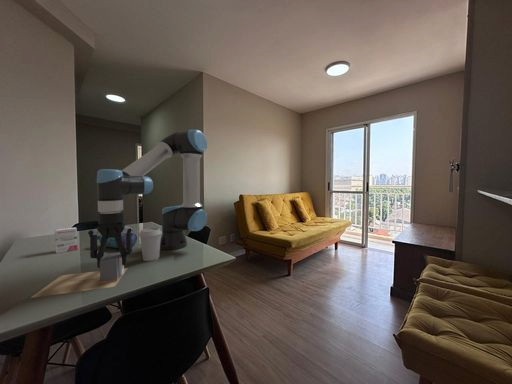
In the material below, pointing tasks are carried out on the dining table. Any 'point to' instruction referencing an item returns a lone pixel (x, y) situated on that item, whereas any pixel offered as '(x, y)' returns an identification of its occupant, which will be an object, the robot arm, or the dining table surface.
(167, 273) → the dining table surface
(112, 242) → the pencil case
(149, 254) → the coffee cup
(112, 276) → the block
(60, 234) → the ink box
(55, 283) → the board
